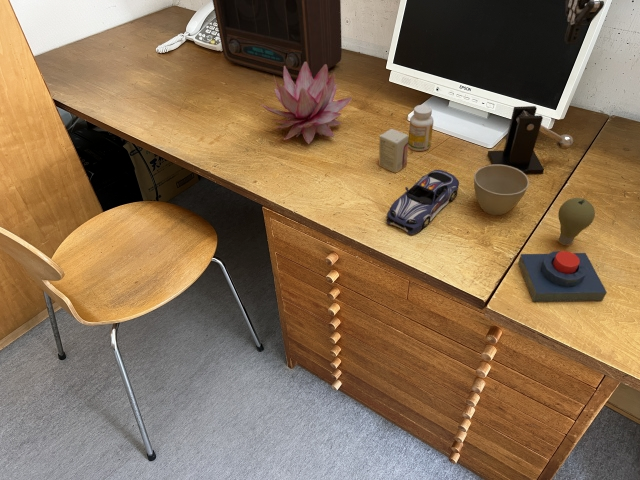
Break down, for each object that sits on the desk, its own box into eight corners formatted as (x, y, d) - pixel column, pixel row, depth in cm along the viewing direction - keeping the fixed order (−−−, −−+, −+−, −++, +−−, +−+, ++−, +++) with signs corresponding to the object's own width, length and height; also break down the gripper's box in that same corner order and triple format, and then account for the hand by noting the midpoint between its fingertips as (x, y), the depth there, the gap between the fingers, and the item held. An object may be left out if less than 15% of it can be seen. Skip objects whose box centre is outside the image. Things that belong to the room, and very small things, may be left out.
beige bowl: (512, 191, 99) (520, 163, 94) (526, 223, 92) (536, 193, 87) (464, 193, 100) (469, 164, 95) (474, 224, 92) (480, 195, 88)
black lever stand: (531, 153, 109) (546, 102, 100) (542, 174, 103) (559, 120, 94) (487, 155, 110) (498, 103, 101) (495, 175, 104) (508, 122, 95)
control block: (581, 261, 84) (589, 245, 81) (602, 301, 77) (611, 284, 75) (517, 262, 85) (523, 246, 82) (533, 302, 78) (539, 285, 75)
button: (571, 258, 80) (575, 250, 78) (579, 274, 77) (583, 266, 76) (549, 258, 80) (552, 251, 79) (557, 274, 77) (560, 266, 76)
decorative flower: (289, 162, 112) (282, 103, 102) (254, 124, 126) (245, 69, 116) (366, 136, 119) (367, 78, 108) (325, 103, 133) (322, 48, 122)
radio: (220, 65, 156) (199, -38, 136) (256, 46, 166) (241, -53, 146) (309, 89, 140) (300, -24, 119) (342, 66, 150) (340, -42, 129)
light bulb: (578, 258, 85) (597, 215, 78) (545, 248, 87) (561, 205, 80) (583, 238, 88) (601, 196, 81) (551, 230, 90) (566, 187, 83)
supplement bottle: (415, 154, 112) (419, 117, 105) (403, 143, 115) (406, 107, 109) (435, 147, 113) (439, 110, 107) (422, 137, 117) (425, 101, 110)
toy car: (381, 222, 94) (382, 202, 91) (430, 178, 104) (432, 159, 101) (415, 238, 91) (417, 218, 87) (462, 191, 100) (466, 171, 97)
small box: (407, 165, 108) (409, 135, 103) (395, 173, 106) (397, 143, 101) (389, 157, 111) (391, 127, 106) (377, 165, 109) (378, 135, 104)
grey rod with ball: (562, 146, 105) (573, 135, 103) (567, 154, 102) (579, 143, 101) (513, 119, 101) (524, 107, 99) (517, 127, 98) (528, 114, 96)
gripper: (638, -50, 79) (602, 55, 90) (606, -67, 88) (577, 30, 100) (591, -47, 79) (561, 56, 91) (564, -64, 89) (540, 31, 101)
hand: (570, 42), depth 95 cm, fingers closed
